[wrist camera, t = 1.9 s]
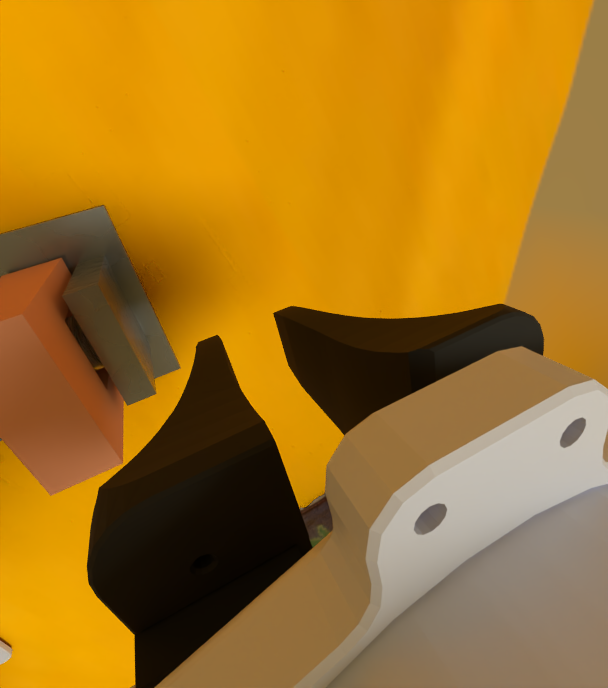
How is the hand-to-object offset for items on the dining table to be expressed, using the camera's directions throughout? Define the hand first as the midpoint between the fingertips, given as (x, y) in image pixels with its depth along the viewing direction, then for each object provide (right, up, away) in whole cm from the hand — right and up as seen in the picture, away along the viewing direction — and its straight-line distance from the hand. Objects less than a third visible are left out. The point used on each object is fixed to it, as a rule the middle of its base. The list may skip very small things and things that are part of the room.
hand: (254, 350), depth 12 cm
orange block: (-10, +1, +7) cm, 12 cm away
